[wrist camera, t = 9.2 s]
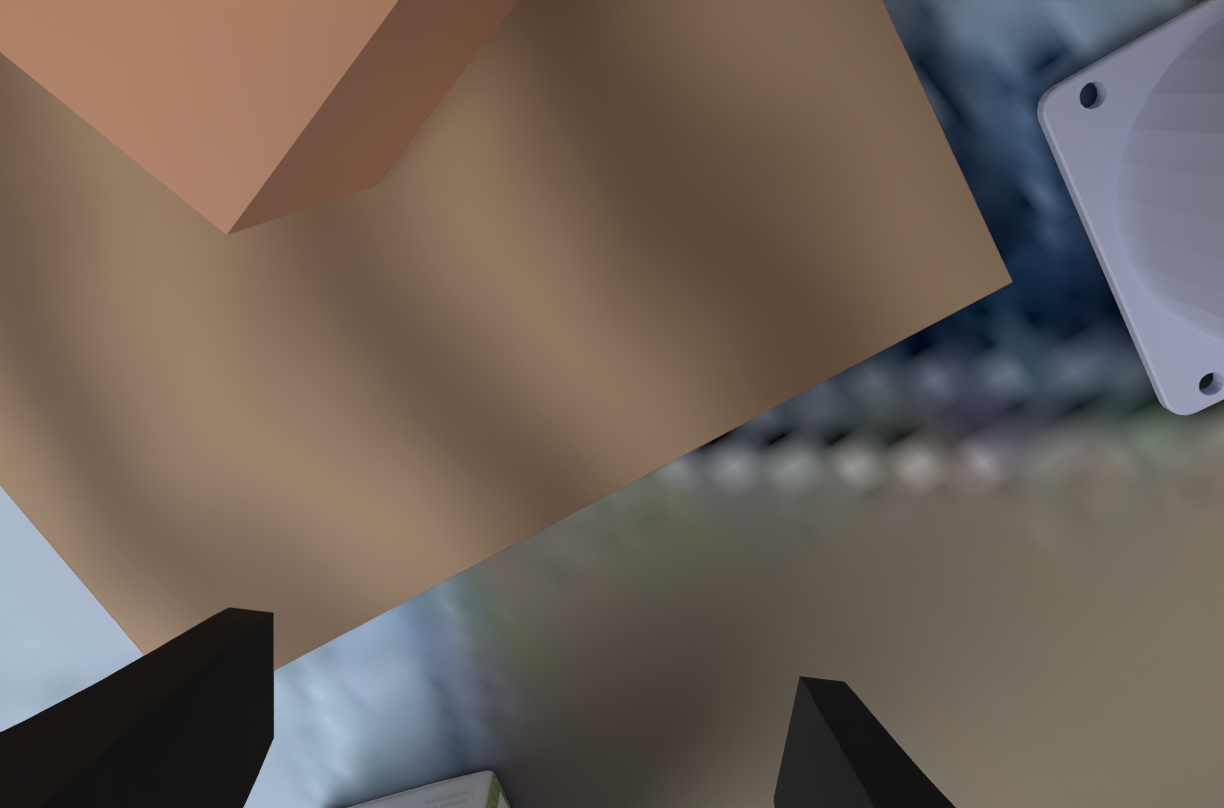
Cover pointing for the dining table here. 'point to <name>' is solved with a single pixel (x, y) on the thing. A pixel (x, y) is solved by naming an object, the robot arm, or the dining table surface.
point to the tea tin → (251, 87)
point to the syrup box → (448, 794)
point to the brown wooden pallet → (463, 307)
